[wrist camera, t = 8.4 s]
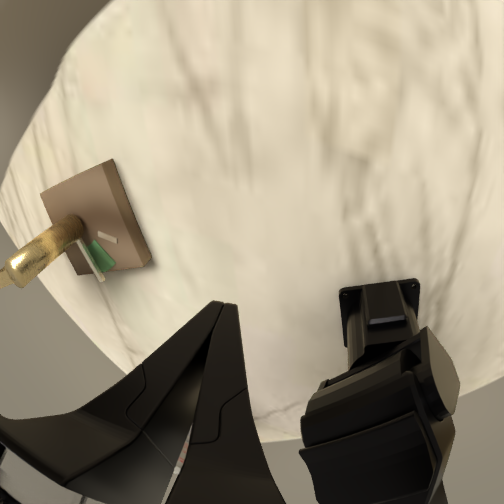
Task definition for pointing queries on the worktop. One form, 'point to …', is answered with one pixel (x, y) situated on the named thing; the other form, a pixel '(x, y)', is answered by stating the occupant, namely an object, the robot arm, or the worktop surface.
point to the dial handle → (46, 252)
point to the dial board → (99, 219)
